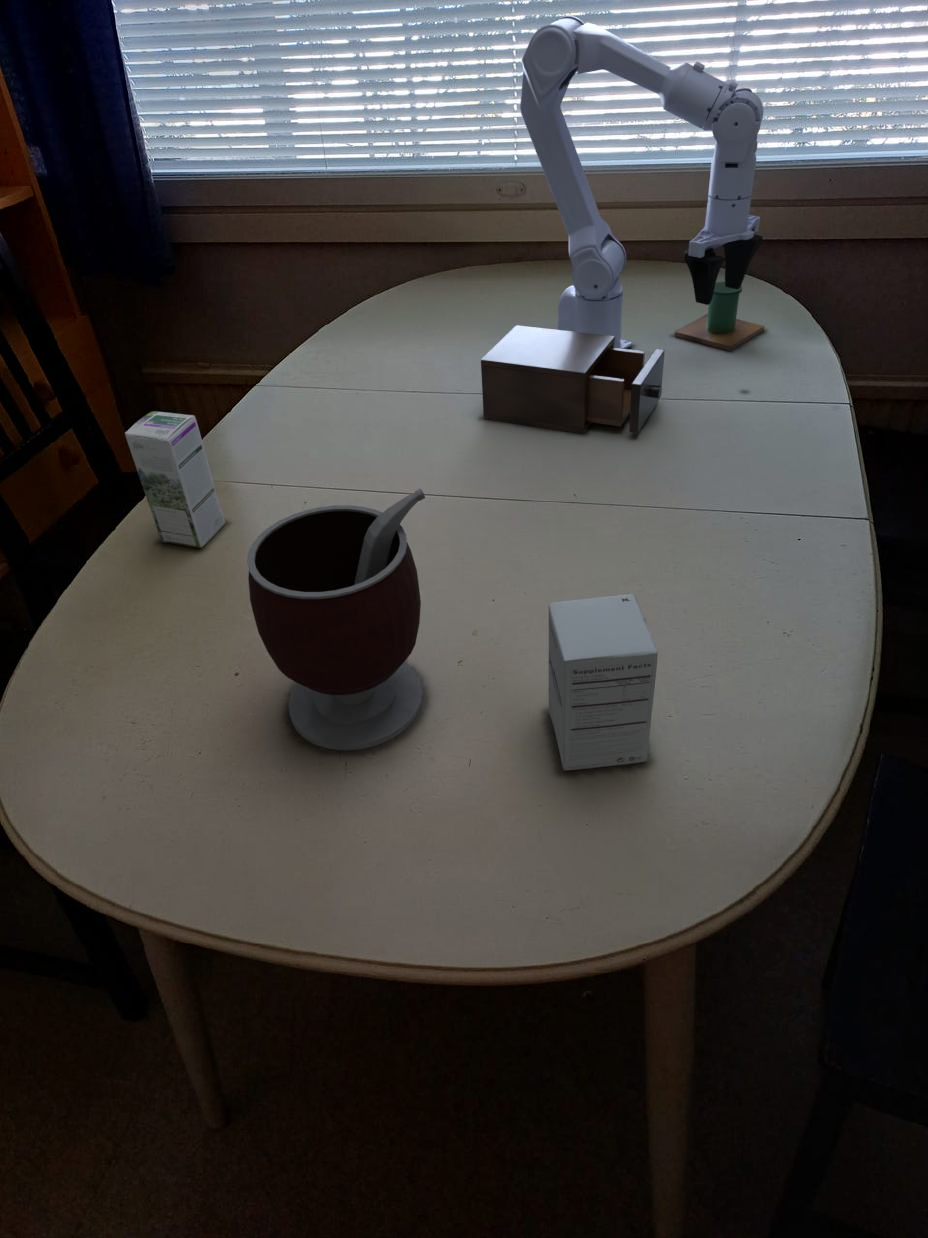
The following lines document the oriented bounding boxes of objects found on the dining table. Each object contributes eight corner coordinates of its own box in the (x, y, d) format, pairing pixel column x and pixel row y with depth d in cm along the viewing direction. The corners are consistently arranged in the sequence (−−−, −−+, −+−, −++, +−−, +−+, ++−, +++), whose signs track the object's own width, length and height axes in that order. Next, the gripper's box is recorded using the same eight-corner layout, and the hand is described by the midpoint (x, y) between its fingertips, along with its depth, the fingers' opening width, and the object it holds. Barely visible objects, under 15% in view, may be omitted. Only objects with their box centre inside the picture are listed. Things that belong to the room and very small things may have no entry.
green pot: (698, 329, 143) (702, 288, 138) (715, 319, 145) (720, 279, 141) (725, 336, 140) (730, 294, 136) (742, 326, 142) (748, 285, 138)
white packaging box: (546, 711, 80) (546, 599, 72) (628, 702, 80) (637, 590, 72) (560, 774, 74) (561, 660, 66) (649, 764, 75) (661, 650, 67)
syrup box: (227, 523, 108) (197, 412, 99) (200, 550, 104) (167, 437, 95) (186, 517, 110) (153, 407, 100) (159, 544, 105) (121, 431, 96)
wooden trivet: (674, 336, 143) (675, 331, 143) (709, 317, 148) (709, 312, 148) (730, 351, 137) (730, 346, 137) (764, 330, 143) (764, 325, 142)
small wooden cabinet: (612, 394, 128) (615, 335, 123) (583, 434, 120) (585, 373, 114) (517, 381, 134) (516, 324, 128) (483, 418, 125) (480, 359, 120)
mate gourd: (304, 778, 76) (255, 590, 63) (264, 678, 86) (215, 498, 73) (471, 718, 80) (457, 531, 67) (415, 630, 90) (393, 452, 77)
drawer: (669, 397, 124) (673, 350, 120) (646, 435, 117) (650, 386, 112) (568, 384, 130) (569, 338, 125) (540, 419, 122) (540, 371, 118)
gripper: (725, 211, 116) (713, 316, 124) (784, 186, 123) (769, 286, 132) (679, 203, 120) (670, 305, 128) (739, 179, 127) (727, 276, 136)
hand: (718, 294), depth 130 cm, fingers open, 7 cm apart
